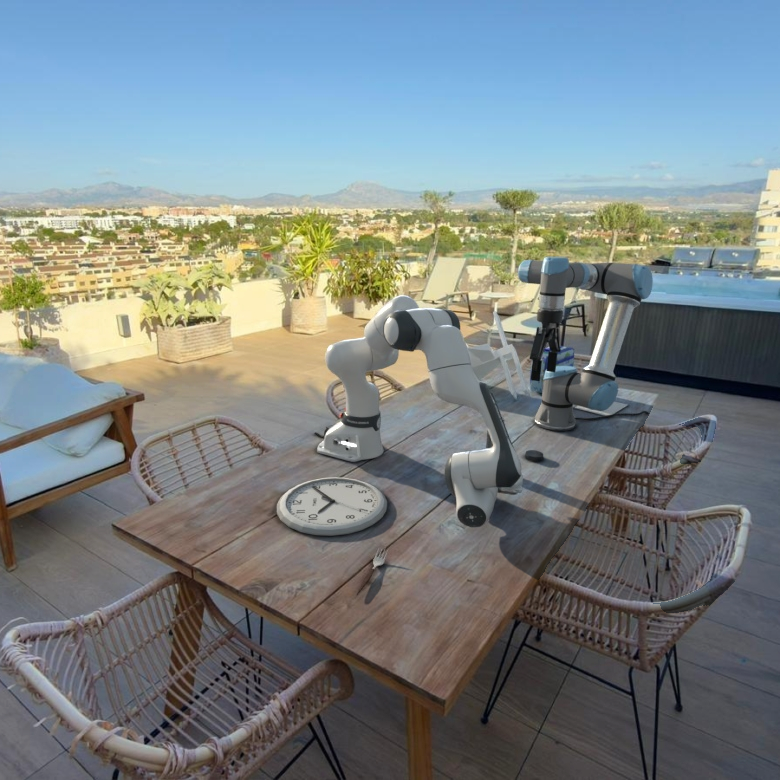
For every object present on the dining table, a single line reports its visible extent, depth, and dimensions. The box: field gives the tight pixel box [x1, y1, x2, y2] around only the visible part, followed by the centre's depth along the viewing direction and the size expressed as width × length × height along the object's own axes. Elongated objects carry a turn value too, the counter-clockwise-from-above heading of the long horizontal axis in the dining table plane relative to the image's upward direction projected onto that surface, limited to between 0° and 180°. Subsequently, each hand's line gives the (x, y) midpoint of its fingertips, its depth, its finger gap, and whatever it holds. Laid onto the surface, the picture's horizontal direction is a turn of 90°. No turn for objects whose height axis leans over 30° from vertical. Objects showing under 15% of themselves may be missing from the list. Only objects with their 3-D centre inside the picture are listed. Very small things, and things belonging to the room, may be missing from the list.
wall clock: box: [276, 476, 388, 537], centre depth 142 cm, size 30×2×30 cm
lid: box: [524, 449, 544, 463], centre depth 174 cm, size 6×6×2 cm
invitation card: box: [573, 401, 629, 416], centre depth 226 cm, size 21×1×15 cm
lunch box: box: [529, 345, 575, 394], centre depth 245 cm, size 26×11×21 cm, turn 134°
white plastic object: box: [466, 310, 531, 400], centre depth 245 cm, size 37×45×31 cm
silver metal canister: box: [485, 416, 506, 449], centre depth 162 cm, size 5×5×18 cm
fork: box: [356, 545, 389, 596], centre depth 114 cm, size 3×16×2 cm, turn 160°
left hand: (489, 466), depth 152 cm, fingers open, 8 cm apart
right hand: (543, 375), depth 166 cm, fingers open, 13 cm apart
